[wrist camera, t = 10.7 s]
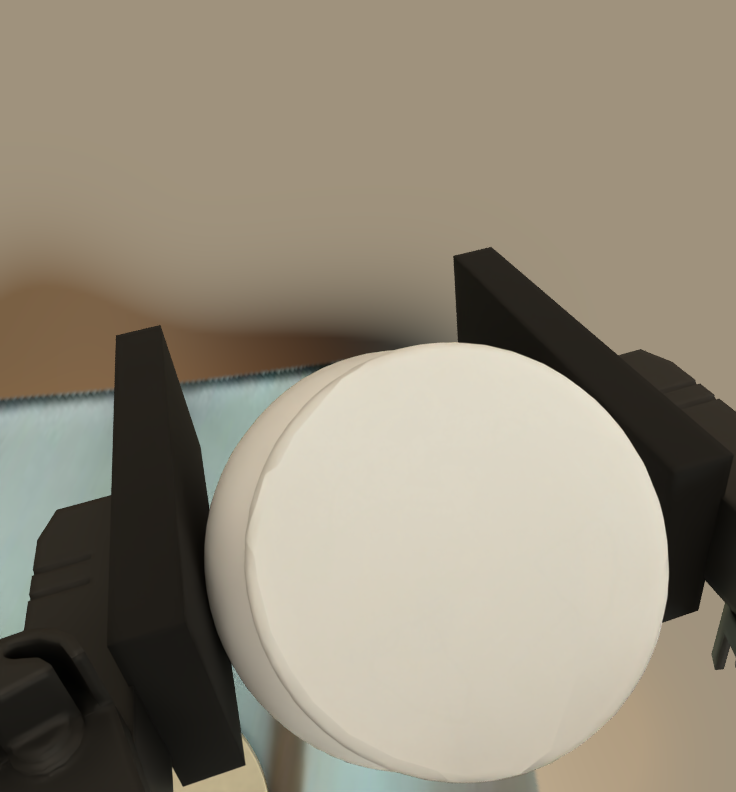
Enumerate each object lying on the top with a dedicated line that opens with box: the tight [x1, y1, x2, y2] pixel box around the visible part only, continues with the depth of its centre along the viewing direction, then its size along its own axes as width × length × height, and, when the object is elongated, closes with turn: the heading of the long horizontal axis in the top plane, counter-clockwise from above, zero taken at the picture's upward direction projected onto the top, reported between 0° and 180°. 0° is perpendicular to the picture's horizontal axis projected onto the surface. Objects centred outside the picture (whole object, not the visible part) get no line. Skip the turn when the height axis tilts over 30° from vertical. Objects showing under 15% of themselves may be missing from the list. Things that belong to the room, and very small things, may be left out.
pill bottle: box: [204, 342, 669, 783], centre depth 11 cm, size 5×5×10 cm
